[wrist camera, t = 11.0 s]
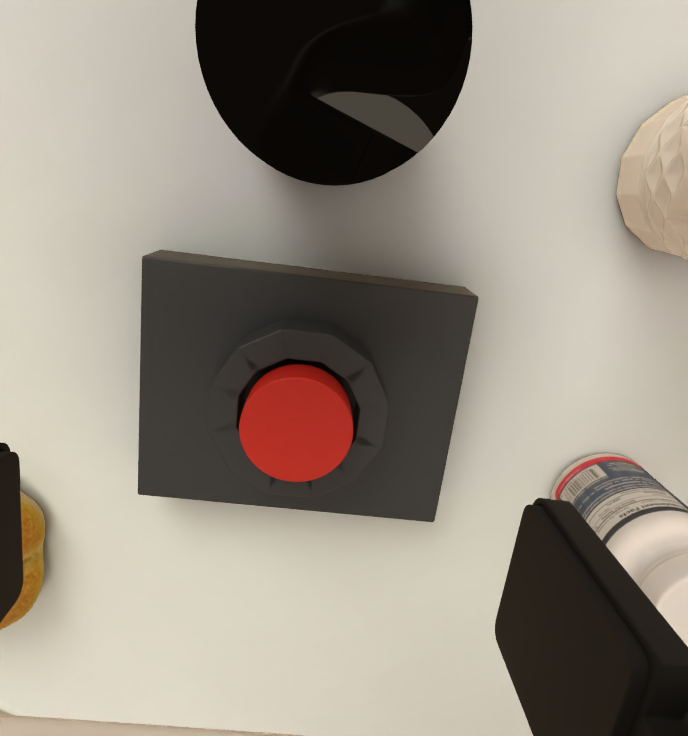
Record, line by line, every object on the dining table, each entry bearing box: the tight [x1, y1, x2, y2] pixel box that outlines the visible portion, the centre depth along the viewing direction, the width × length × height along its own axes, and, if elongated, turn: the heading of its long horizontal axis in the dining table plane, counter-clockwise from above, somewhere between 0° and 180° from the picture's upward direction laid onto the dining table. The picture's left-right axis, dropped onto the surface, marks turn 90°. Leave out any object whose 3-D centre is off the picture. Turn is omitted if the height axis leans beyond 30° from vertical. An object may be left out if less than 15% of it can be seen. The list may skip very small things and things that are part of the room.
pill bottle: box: [550, 453, 688, 647], centre depth 25 cm, size 5×5×9 cm
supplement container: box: [195, 0, 472, 186], centre depth 19 cm, size 7×7×10 cm
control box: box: [138, 250, 478, 522], centre depth 25 cm, size 11×14×4 cm
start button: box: [239, 364, 353, 482], centre depth 22 cm, size 4×4×2 cm
